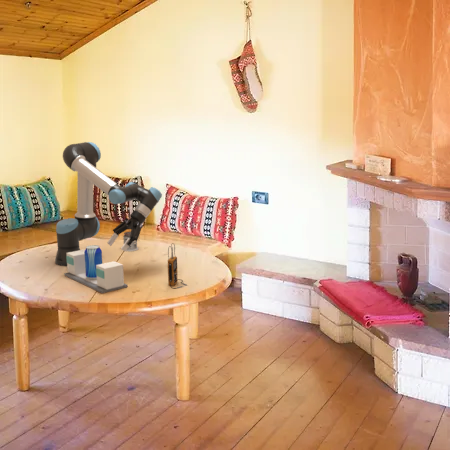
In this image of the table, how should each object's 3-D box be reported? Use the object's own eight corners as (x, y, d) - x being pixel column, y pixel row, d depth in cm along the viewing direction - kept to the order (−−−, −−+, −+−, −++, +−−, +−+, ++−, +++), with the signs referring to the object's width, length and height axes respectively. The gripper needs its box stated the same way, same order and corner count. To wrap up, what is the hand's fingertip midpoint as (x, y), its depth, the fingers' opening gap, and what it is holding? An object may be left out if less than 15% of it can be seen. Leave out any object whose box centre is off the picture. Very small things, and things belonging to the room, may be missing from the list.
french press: (130, 246, 390) (128, 205, 385) (144, 248, 384) (143, 207, 378) (118, 249, 382) (116, 208, 377) (133, 252, 376) (131, 210, 370)
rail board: (64, 275, 333) (62, 253, 331) (88, 270, 342) (87, 248, 340) (102, 293, 305) (101, 269, 303) (127, 287, 314) (126, 263, 312)
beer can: (87, 275, 328) (86, 244, 324) (104, 275, 328) (102, 244, 324) (84, 280, 320) (82, 248, 316) (101, 280, 319) (99, 248, 316)
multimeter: (186, 289, 310) (185, 249, 305) (166, 288, 312) (164, 248, 307) (193, 280, 324) (192, 241, 319) (174, 279, 326) (173, 240, 321)
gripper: (158, 222, 327) (133, 256, 321) (131, 214, 345) (108, 246, 339) (149, 213, 322) (124, 248, 316) (122, 205, 341) (98, 238, 335)
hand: (115, 247), depth 328 cm, fingers open, 13 cm apart
